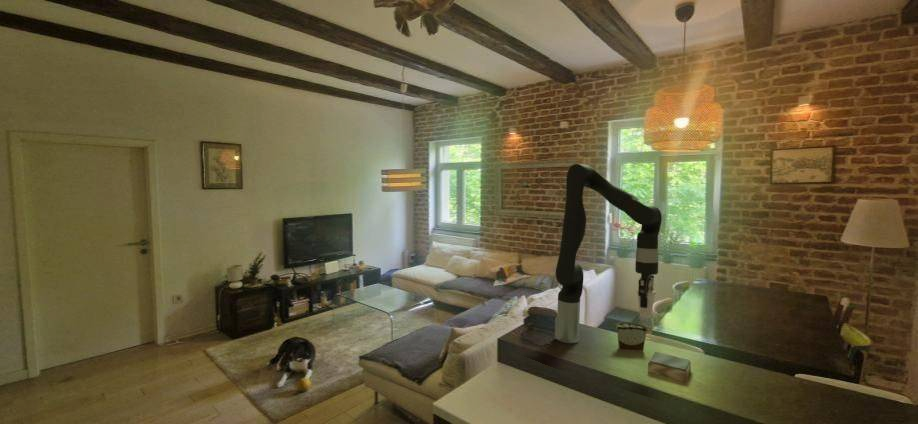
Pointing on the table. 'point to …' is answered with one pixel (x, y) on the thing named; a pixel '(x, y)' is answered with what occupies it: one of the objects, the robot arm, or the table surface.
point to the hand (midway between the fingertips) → (645, 305)
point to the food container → (631, 336)
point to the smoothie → (650, 299)
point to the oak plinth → (670, 366)
